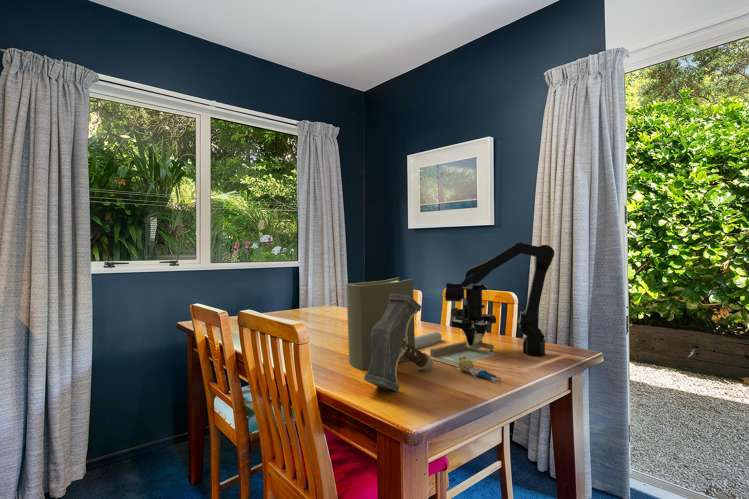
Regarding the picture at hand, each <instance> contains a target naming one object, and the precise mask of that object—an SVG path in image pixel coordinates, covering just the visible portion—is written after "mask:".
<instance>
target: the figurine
mask: <svg viewBox="0 0 749 499" xmlns="http://www.w3.org/2000/svg"><path fill="white" fill-rule="evenodd" d="M459 360H460V361H459V363H458V366H457V367H459V368H458V369H459V370H460V371H461V372H466V373H469V374H471V375H472V376H473V377H474V378H477V377H478V378H483V379H486V380H487V379H488V380H492V381H493V384H497V383H496V382H497V380H498V383H501V381H502V379H501V376H498V375H496V374H492V373H491V372H488V371H487V370H485V369H484V370H483V369H481V368H477V367H474V363H473V362H474V361H471V360H470V359H467V358H466V357H465V356H464V357H462V358H460V357H459Z"/></svg>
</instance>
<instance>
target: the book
mask: <svg viewBox="0 0 749 499" xmlns="http://www.w3.org/2000/svg"><path fill="white" fill-rule="evenodd" d="M390 294H399V295H408V296H411V297H412V298H413V299H414V280H413V278H409V279H403V280H401V279H400V277H398V276H397V277H393V278H389V279H385V280H384V279H383V280H376V281H375V280H374V281H364V282H354V283H346V303H347V304H346V305H347V310H346V312H347V336H348V338H347V339H348V363H349V365H350V366H351V367H353V368H355V369H358V370H361V371H364V370H365V371H366V370H369V366H370V361H371V353H372V341H371V332H372V329H373V327H374V326H375V325H376V324H377V323H378V322H379V321H380V319H381V318H382V316H383V315H384V313H385V311H386V309H387V307H388V305H389V301H390V300H389V295H390ZM407 336H408V344H411V345H412V346H413V347H415V337H416V335H415V315H414V316H413V317H412V318H411V320H410V322H409V326H408V331H407ZM401 362H410V361H409V359H407V358H406V357H404V356H401V357H400V359H399V362H398V363H401Z"/></svg>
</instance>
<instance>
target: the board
mask: <svg viewBox="0 0 749 499" xmlns="http://www.w3.org/2000/svg"><path fill="white" fill-rule="evenodd" d="M429 352H430V353H429V354H430V355H428V356H429V357H430V358H431V359H432V361H434V362H436V363H440V364H443V365H446V366H450V367H454V368H456V369H460V368H459V366H458V363H459V361H460V360H459V357H460V358H462V357H464V356H465V357H466V358H467V359H470V360H471V361H472V362H475V361H479V360H483V359H486V358H490V357H495V356H497V355H499V353H498V352H494V351H492V352H491V350H490V351H489V350H487V349H483V348H482V349H481V348H478V349H472V348H468V347H467V346H466V340H465V341H459V342H455V343H452V344H451V343H450V344H448V345H443V346H438V347H433V348H430V351H429Z"/></svg>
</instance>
